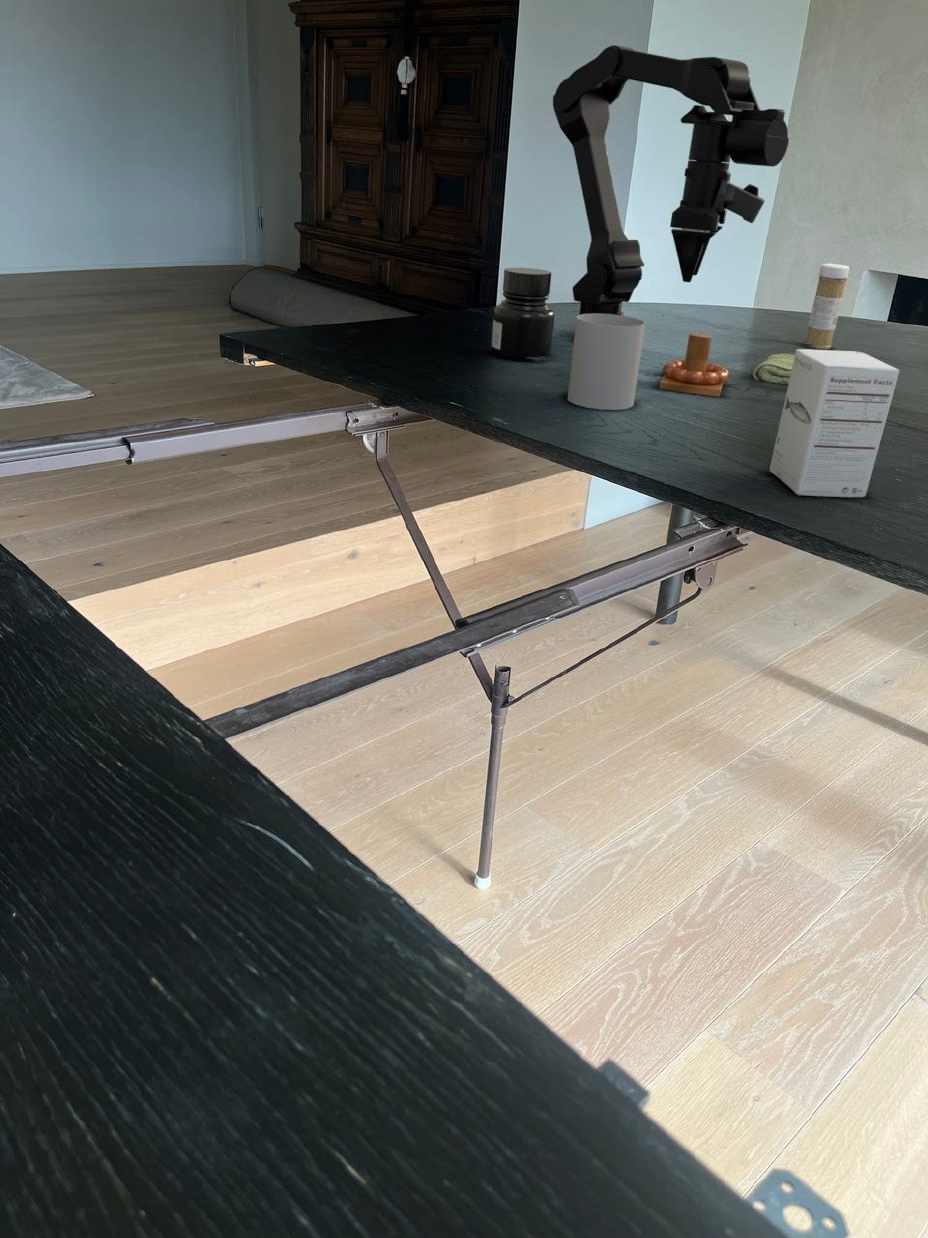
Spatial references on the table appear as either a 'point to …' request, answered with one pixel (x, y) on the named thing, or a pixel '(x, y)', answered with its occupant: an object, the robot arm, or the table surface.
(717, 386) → the wooden peg stand
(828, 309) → the sprinkles bottle
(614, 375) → the cup
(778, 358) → the washcloth
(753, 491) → the table surface
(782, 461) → the white packaging box
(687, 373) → the ring
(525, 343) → the ink bottle
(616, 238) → the robot arm
